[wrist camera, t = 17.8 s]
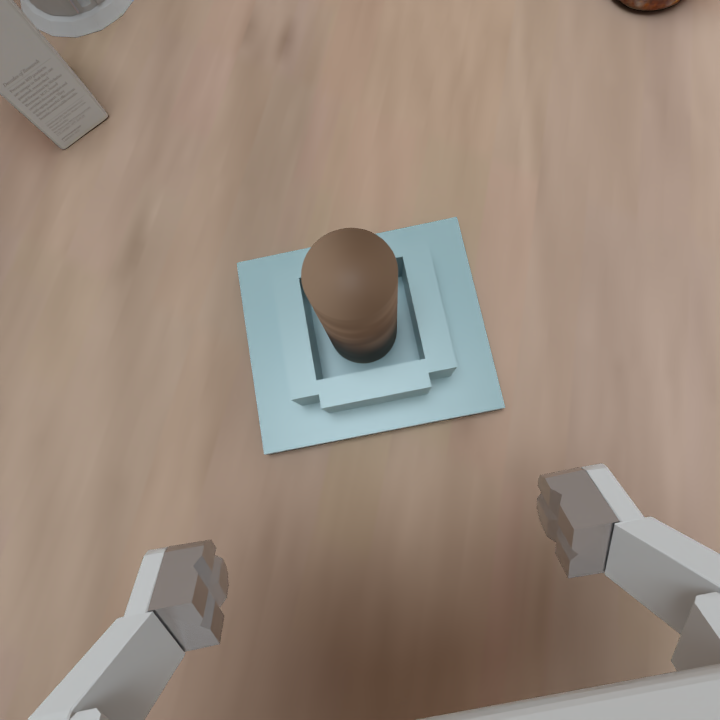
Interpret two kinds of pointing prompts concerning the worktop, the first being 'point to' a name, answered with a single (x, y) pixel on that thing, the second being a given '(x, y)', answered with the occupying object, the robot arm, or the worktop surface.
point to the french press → (73, 15)
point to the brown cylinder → (354, 292)
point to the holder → (379, 378)
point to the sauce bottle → (649, 4)
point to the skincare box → (43, 81)
